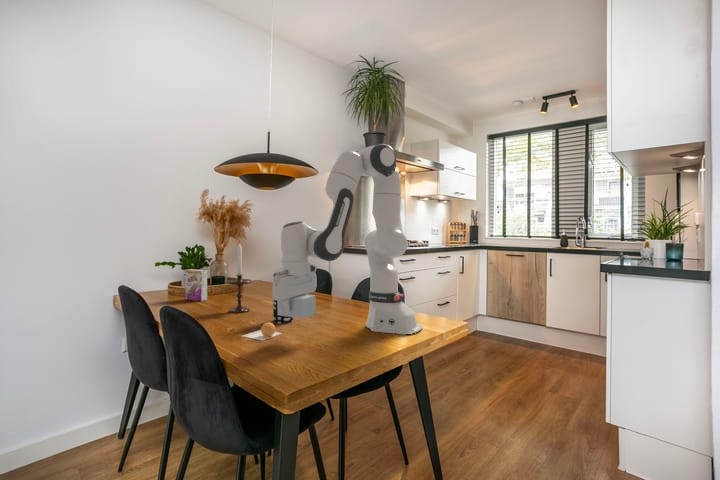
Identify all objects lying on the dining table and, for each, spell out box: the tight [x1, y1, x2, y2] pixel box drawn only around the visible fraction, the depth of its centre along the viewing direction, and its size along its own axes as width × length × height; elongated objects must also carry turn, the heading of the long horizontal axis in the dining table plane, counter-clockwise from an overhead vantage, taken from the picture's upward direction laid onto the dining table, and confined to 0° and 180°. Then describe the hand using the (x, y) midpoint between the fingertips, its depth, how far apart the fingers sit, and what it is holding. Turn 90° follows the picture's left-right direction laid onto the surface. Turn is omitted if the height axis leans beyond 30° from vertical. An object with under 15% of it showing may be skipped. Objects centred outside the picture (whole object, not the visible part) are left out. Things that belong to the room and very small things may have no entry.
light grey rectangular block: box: [277, 294, 317, 320], centre depth 125 cm, size 11×7×6 cm, turn 62°
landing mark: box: [241, 329, 283, 342], centre depth 132 cm, size 10×10×1 cm
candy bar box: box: [184, 268, 208, 302], centre depth 195 cm, size 11×5×16 cm, turn 72°
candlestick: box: [226, 237, 253, 314], centre depth 170 cm, size 11×11×35 cm
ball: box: [260, 322, 276, 337], centre depth 130 cm, size 5×5×5 cm
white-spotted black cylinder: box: [272, 272, 294, 324], centre depth 152 cm, size 8×8×20 cm
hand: (296, 308), depth 125 cm, fingers closed on light grey rectangular block, 7 cm apart
